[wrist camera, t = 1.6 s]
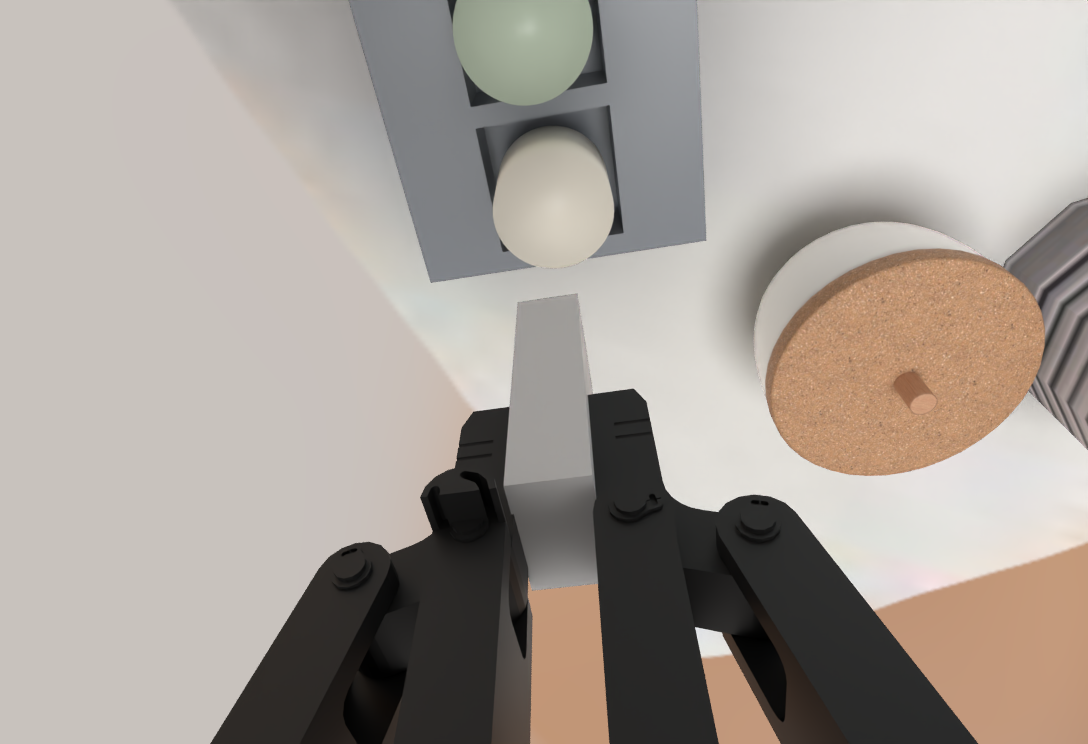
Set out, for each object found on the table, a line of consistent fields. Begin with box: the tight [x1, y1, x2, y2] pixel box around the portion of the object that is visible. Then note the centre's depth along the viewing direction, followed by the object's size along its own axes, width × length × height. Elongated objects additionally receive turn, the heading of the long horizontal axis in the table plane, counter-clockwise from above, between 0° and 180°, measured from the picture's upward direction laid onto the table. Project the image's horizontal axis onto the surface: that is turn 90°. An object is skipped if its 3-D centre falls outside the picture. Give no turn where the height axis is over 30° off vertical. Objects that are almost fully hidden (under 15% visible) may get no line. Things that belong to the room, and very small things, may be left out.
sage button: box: [453, 0, 593, 106], centre depth 23 cm, size 4×4×4 cm
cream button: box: [493, 126, 614, 269], centre depth 26 cm, size 4×4×4 cm
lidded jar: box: [754, 222, 1045, 476], centre depth 30 cm, size 11×11×9 cm
